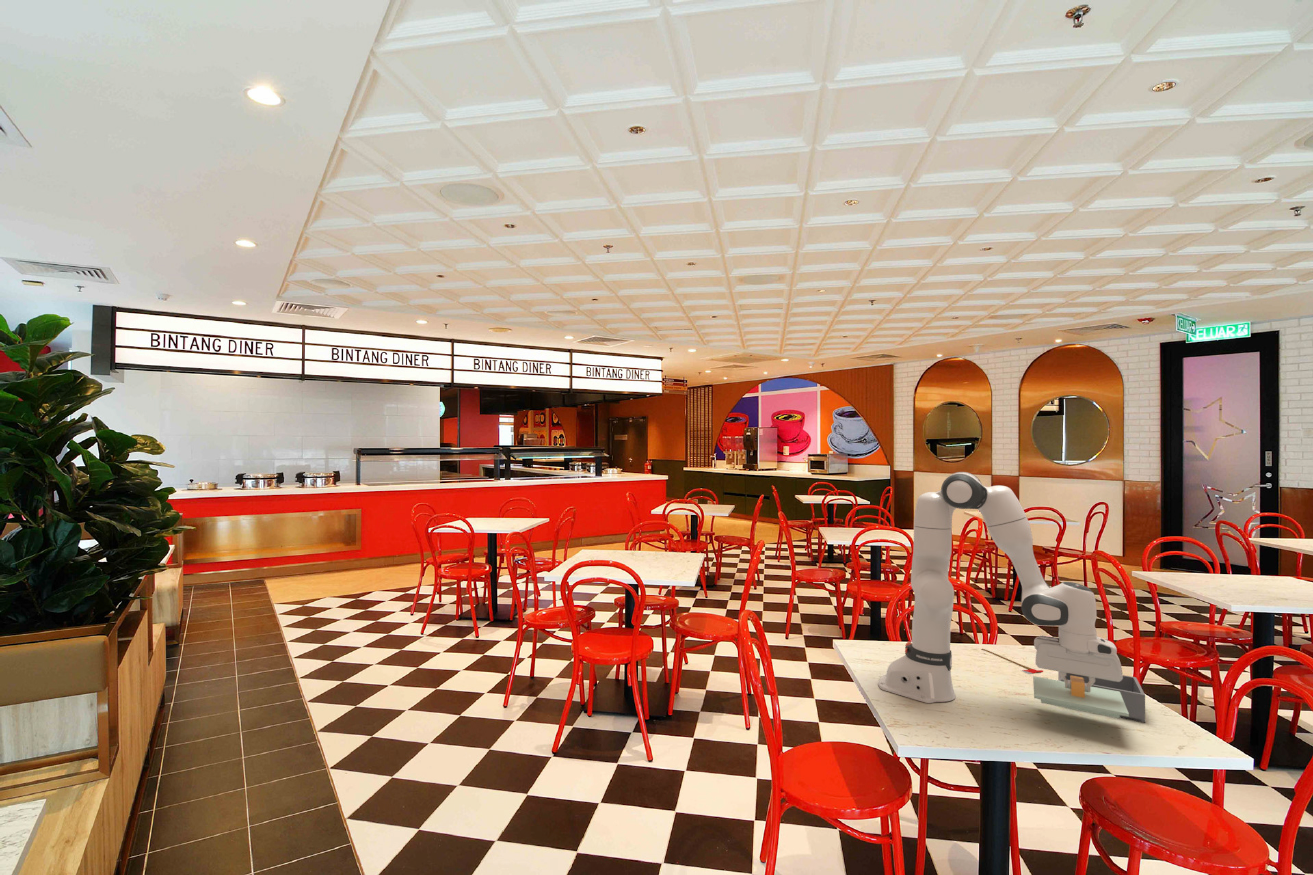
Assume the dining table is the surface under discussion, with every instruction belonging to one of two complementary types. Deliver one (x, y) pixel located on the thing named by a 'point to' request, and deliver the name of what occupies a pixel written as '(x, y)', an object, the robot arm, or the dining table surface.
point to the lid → (1079, 697)
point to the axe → (1029, 671)
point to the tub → (1128, 690)
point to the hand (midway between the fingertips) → (1077, 689)
